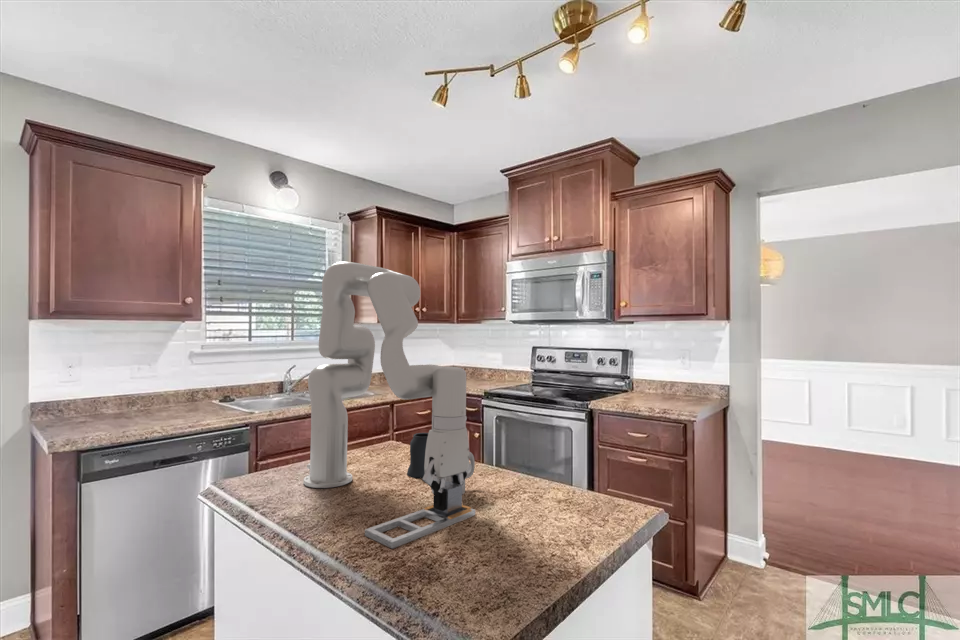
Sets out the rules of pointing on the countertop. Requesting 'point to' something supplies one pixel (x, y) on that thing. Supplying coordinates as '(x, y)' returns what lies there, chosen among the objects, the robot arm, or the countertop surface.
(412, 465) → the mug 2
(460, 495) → the grey rectangular block
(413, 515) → the grey flat frame
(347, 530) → the countertop surface
